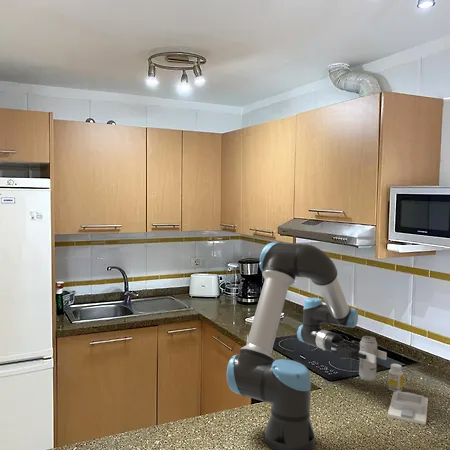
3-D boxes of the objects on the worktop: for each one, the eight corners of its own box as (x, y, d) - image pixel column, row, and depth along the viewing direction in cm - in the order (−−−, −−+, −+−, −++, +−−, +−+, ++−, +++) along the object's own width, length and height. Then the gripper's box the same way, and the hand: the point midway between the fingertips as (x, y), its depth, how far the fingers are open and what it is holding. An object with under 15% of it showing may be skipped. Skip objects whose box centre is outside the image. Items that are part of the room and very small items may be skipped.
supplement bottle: (391, 392, 172) (392, 367, 171) (385, 386, 177) (386, 363, 177) (405, 392, 172) (406, 367, 172) (398, 386, 178) (399, 362, 177)
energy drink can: (374, 382, 159) (375, 341, 159) (357, 378, 162) (358, 338, 162) (377, 377, 164) (378, 337, 164) (360, 373, 167) (362, 334, 167)
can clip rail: (425, 425, 146) (426, 414, 146) (387, 416, 151) (387, 406, 151) (427, 400, 165) (428, 391, 165) (393, 394, 170) (394, 385, 170)
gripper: (344, 347, 183) (395, 363, 165) (313, 354, 172) (363, 373, 153) (345, 329, 183) (395, 343, 164) (314, 335, 172) (364, 351, 153)
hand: (380, 357), depth 159 cm, fingers closed on energy drink can, 6 cm apart
